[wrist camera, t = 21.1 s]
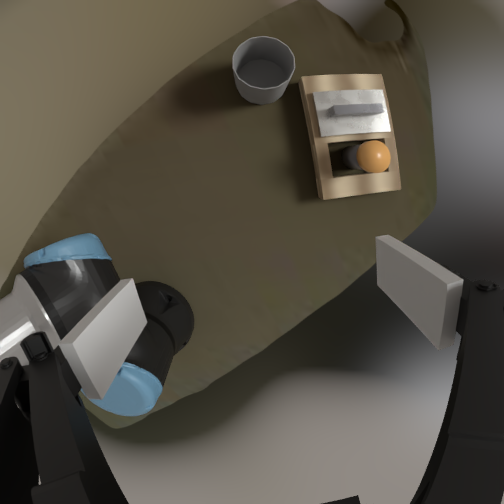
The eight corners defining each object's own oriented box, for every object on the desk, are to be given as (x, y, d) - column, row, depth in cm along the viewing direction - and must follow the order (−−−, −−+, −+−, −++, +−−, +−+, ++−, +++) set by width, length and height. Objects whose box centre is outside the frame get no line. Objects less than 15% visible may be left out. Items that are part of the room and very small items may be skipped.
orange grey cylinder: (341, 171, 47) (362, 173, 37) (338, 144, 45) (359, 140, 36) (366, 170, 47) (391, 172, 37) (363, 143, 45) (389, 140, 36)
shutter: (320, 137, 42) (325, 134, 39) (311, 93, 40) (316, 87, 37) (388, 131, 41) (398, 130, 38) (380, 90, 39) (389, 86, 36)
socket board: (318, 197, 48) (323, 199, 45) (298, 82, 42) (301, 76, 39) (392, 187, 47) (401, 189, 44) (373, 79, 42) (381, 74, 39)
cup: (227, 71, 42) (222, 49, 32) (272, 53, 41) (277, 28, 31) (249, 112, 44) (249, 98, 34) (295, 93, 43) (305, 76, 34)
